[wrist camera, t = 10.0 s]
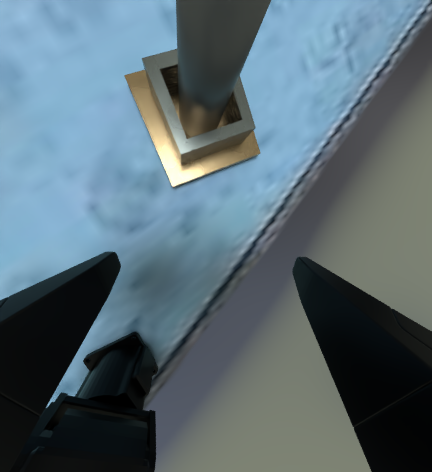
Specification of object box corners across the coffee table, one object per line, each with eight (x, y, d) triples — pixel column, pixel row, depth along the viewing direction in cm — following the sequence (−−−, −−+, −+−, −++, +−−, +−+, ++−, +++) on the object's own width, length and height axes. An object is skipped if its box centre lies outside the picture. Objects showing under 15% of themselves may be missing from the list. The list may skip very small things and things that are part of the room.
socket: (173, 188, 19) (170, 180, 15) (128, 84, 17) (108, 38, 12) (255, 156, 21) (276, 140, 16) (224, 57, 18) (238, 6, 14)
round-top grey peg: (179, 137, 18) (173, -54, 5) (178, 93, 17) (170, -252, 4) (218, 141, 18) (297, -13, 6) (218, 100, 18) (309, -174, 5)
